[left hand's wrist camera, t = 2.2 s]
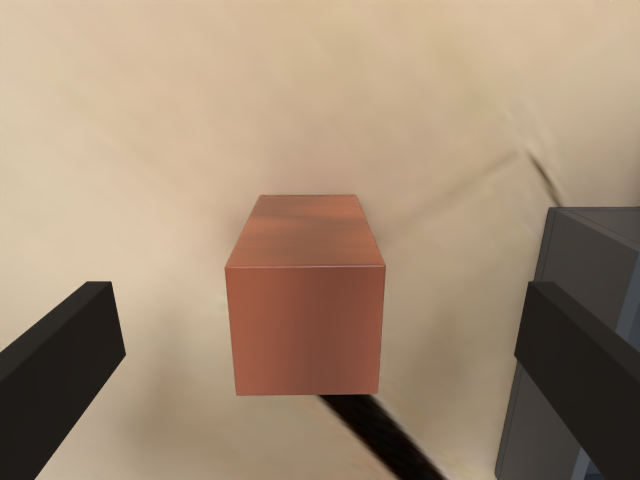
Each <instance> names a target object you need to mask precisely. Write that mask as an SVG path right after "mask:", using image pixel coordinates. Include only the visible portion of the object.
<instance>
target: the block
mask: <svg viewBox="0 0 640 480" xmlns="http://www.w3.org/2000/svg"><path fill="white" fill-rule="evenodd" d="M385 271H386V266H385V263H384V261H383V258H382V256H381V254H380V251H379V249H378V246H377V244H376V242H375V239H374V237H373V234H372V232H371V230H370V227H369V225H368V222H367V220H366V218H365V215H364V213H363V210H362V208H361V206H360V203H359V201H358V198H357V196H356V195H260V196H259V198H258V200H257V202H256V204H255V206H254V208H253V210H252V212H251V214H250V216H249V218H248V221H247V223H246V225H245V227H244V229H243V231H242V233H241V235H240V237H239V239H238V241H237V243H236V245H235V247H234V249H233V251H232V253H231V255H230V257H229V259H228V261H227V263H226V265H225V277H226V288H227V299H228V310H229V321H230V332H231V343H232V354H233V365H234V376H235V387H236V395H238V396H249V395H325V394H377V393H378V382H379V367H380V351H381V335H382V319H383V303H384V287H385Z"/></svg>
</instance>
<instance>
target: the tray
mask: <svg viewBox="0 0 640 480" xmlns="http://www.w3.org/2000/svg"><path fill="white" fill-rule="evenodd" d="M534 281H553V282H554V283H556V284H557V285H558V286H559V287H560V288H562V289H563V290H564V291H565V292H567V293H568V294H569V295H570V296H571V297H573V298H574V299H575V300H576V301H578V302H579V303H580V304H581V305H582V306H584V307H585V308H586V309H587V310H589V311H590V312H591V313H592V314H593V315H595V316H596V317H597V318H598V319H599V320H601V321H602V322H603V323H604V324H606V325H607V326H608V327H609V328H610V329H612V330H613V331H614V332H615V333H617V334H618V335H619V336H620V337H621V338H623V339H624V340H625V341H626V342H628V343H629V344H630V345H631V346H632V347H634V348H635V349H636V350H637V351H639V352H640V207H550V208H549V212H548V217H547V222H546V227H545V231H544V236H543V241H542V246H541V251H540V256H539V261H538V265H537V270H536V275H535V280H534ZM495 476H496V478H497V480H605V478H604V477H603V476H602V474H601V473H600V471H599V470H598V469H597V467H596V466H595V465H594V463H593V462H592V461H591V459H590V458H589V456H588V455H587V454H586V452H585V451H584V450H583V448H582V447H581V446H580V444H579V443H578V441H577V440H576V439H575V437H574V436H573V435H572V433H571V432H570V431H569V429H568V428H567V426H566V425H565V424H564V422H563V421H562V420H561V418H560V417H559V416H558V414H557V413H556V412H555V410H554V409H553V407H552V406H551V405H550V403H549V402H548V401H547V399H546V398H545V397H544V395H543V394H542V392H541V391H540V390H539V388H538V387H537V386H536V384H535V383H534V382H533V380H532V379H531V377H530V376H529V375H528V373H527V372H526V371H525V369H524V368H523V367H522V365H521V364H520V362H519V361H518V362H517V367H516V372H515V377H514V382H513V387H512V392H511V396H510V401H509V406H508V411H507V416H506V421H505V426H504V430H503V435H502V440H501V445H500V450H499V455H498V460H497V464H496V469H495Z"/></svg>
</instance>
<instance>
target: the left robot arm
mask: <svg viewBox="0 0 640 480" xmlns="http://www.w3.org/2000/svg"><path fill="white" fill-rule="evenodd" d="M125 356H126V353H125V348H124V343H123V338H122V332H121V327H120V322H119V317H118V312H117V307H116V302H115V297H114V292H113V287H112V282H111V281H87V282H86V283H84V284H83V285H82V286H81V287H80V288H78V289H77V290H76V291H75V292H73V293H72V294H71V295H70V296H69V297H67V298H66V299H65V300H64V301H62V302H61V303H60V304H59V305H58V306H56V307H55V308H54V309H53V310H51V311H50V312H49V313H48V314H47V315H45V316H44V317H43V318H42V319H41V320H39V321H38V322H37V323H36V324H34V325H33V326H32V327H31V328H30V329H28V330H27V331H26V332H25V333H23V334H22V335H21V336H20V337H19V338H17V339H16V340H15V341H14V342H12V343H11V344H10V345H9V346H8V347H6V348H5V349H4V350H3V351H1V352H0V480H35V478H36V477H37V476H38V474H39V473H40V471H41V470H42V469H43V467H44V466H45V465H46V463H47V462H48V461H49V459H50V458H51V456H52V455H53V454H54V452H55V451H56V450H57V448H58V447H59V446H60V444H61V443H62V441H63V440H64V439H65V437H66V436H67V435H68V433H69V432H70V431H71V429H72V428H73V426H74V425H75V424H76V422H77V421H78V420H79V418H80V417H81V416H82V414H83V413H84V412H85V410H86V409H87V407H88V406H89V405H90V403H91V402H92V401H93V399H94V398H95V397H96V395H97V394H98V392H99V391H100V390H101V388H102V387H103V386H104V384H105V383H106V382H107V380H108V379H109V377H110V376H111V375H112V373H113V372H114V371H115V369H116V368H117V367H118V365H119V364H120V362H121V361H122V360H123V358H124V357H125ZM514 356H515V357H516V358H517V360H518V361H519V362H520V364H521V365H522V367H523V368H524V369H525V371H526V372H527V373H528V375H529V376H530V377H531V379H532V380H533V382H534V383H535V384H536V386H537V387H538V388H539V390H540V391H541V392H542V394H543V395H544V397H545V398H546V399H547V401H548V402H549V403H550V405H551V406H552V407H553V409H554V410H555V412H556V413H557V414H558V416H559V417H560V418H561V420H562V421H563V422H564V424H565V425H566V426H567V428H568V429H569V431H570V432H571V433H572V435H573V436H574V437H575V439H576V440H577V441H578V443H579V444H580V446H581V447H582V448H583V450H584V451H585V452H586V454H587V455H588V456H589V458H590V459H591V461H592V462H593V463H594V465H595V466H596V467H597V469H598V470H599V471H600V473H601V474H602V476H603V477H604V478H605V480H640V352H639V351H637V350H636V349H635V348H634V347H632V346H631V345H630V344H629V343H628V342H626V341H625V340H624V339H623V338H621V337H620V336H619V335H618V334H617V333H615V332H614V331H613V330H612V329H610V328H609V327H608V326H607V325H606V324H604V323H603V322H602V321H601V320H599V319H598V318H597V317H596V316H595V315H593V314H592V313H591V312H590V311H589V310H587V309H586V308H585V307H584V306H582V305H581V304H580V303H579V302H578V301H576V300H575V299H574V298H573V297H571V296H570V295H569V294H568V293H567V292H565V291H564V290H563V289H562V288H560V287H559V286H558V285H557V284H556V283H554V282H553V281H529V282H528V287H527V292H526V297H525V302H524V307H523V312H522V317H521V322H520V327H519V332H518V338H517V343H516V348H515V353H514Z"/></svg>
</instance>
